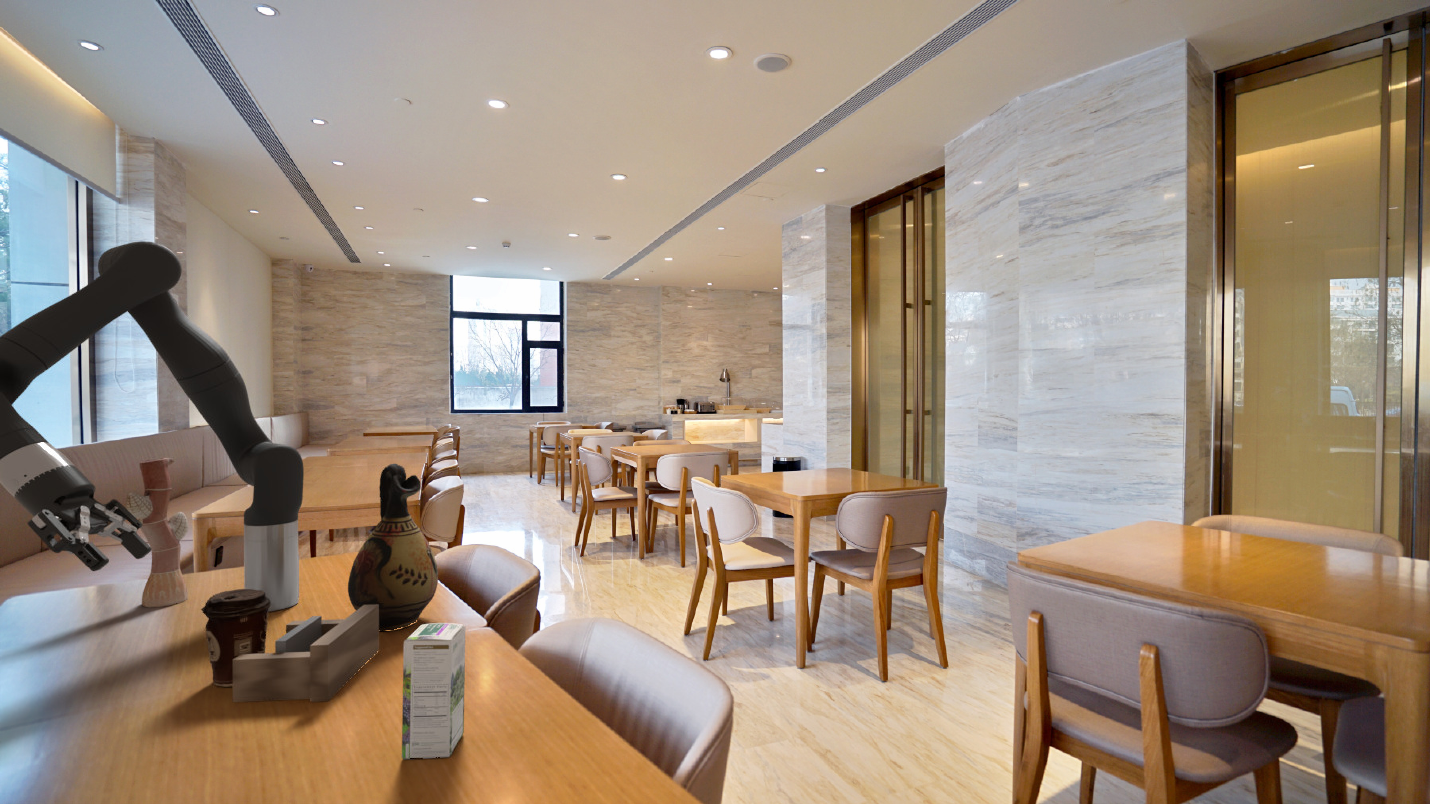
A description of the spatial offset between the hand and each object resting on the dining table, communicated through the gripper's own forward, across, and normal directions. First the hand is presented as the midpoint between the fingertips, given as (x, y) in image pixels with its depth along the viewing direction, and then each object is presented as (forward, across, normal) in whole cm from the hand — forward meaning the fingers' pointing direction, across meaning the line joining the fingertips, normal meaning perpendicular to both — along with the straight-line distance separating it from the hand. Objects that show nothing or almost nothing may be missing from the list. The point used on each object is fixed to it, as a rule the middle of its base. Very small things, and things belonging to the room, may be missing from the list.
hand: (124, 560), depth 98 cm
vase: (-2, +42, +27) cm, 50 cm away
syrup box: (+49, -23, -24) cm, 59 cm away
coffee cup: (+24, +1, +1) cm, 24 cm away
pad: (+30, 0, -6) cm, 30 cm away
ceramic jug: (+33, +24, -10) cm, 43 cm away
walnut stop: (+31, 0, -7) cm, 32 cm away
